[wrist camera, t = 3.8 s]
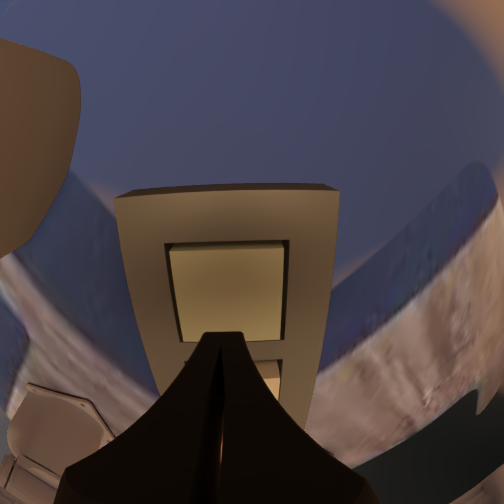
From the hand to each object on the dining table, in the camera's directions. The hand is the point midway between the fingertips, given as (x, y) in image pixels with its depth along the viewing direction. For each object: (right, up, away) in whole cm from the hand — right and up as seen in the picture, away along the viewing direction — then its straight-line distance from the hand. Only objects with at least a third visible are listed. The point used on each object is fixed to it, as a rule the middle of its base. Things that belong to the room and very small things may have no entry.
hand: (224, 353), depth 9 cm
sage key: (0, +2, +5) cm, 6 cm away
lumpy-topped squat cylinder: (-14, +10, +3) cm, 18 cm away
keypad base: (0, -4, +9) cm, 9 cm away
